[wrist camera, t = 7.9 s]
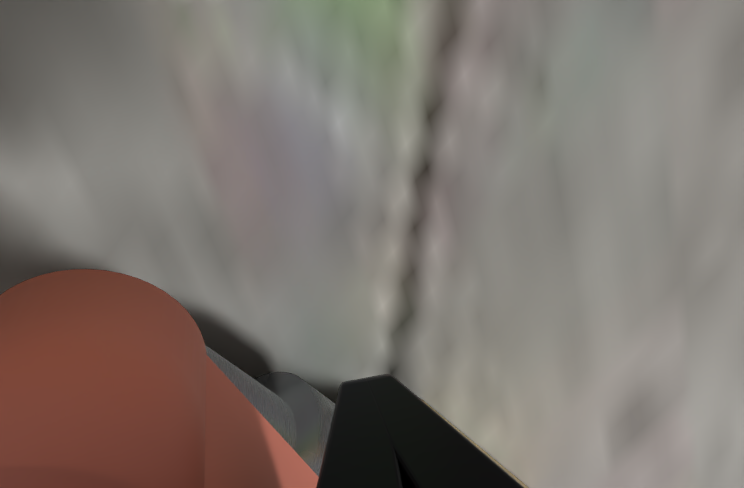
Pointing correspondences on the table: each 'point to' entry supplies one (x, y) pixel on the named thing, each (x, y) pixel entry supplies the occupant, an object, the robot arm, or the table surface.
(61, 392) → the lever
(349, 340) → the table surface
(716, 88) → the table surface
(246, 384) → the pipe valve
